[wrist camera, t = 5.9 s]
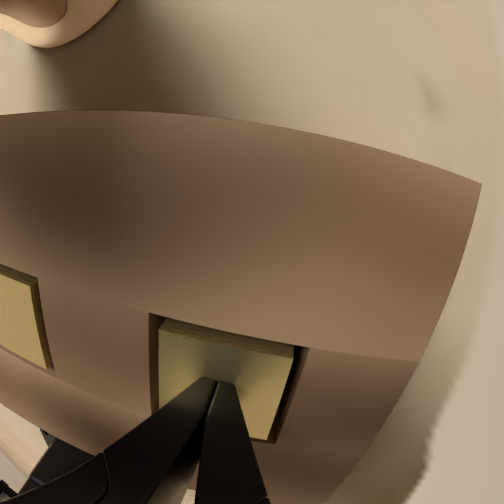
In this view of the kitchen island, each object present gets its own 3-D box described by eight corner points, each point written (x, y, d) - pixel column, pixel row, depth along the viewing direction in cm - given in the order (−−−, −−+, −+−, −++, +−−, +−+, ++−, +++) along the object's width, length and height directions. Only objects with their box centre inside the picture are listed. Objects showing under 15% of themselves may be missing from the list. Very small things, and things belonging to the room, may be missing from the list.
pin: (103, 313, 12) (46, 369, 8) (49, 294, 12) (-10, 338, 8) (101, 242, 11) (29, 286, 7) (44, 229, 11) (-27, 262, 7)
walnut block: (318, 437, 13) (319, 508, 9) (25, 350, 14) (-18, 390, 10) (414, 168, 9) (481, 184, 5) (7, 120, 10) (-63, 125, 6)
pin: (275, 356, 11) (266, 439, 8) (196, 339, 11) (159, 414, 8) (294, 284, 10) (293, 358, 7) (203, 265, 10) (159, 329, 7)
